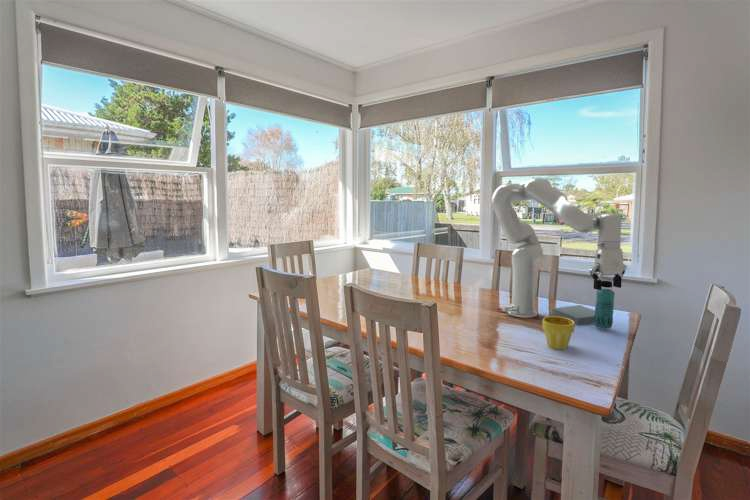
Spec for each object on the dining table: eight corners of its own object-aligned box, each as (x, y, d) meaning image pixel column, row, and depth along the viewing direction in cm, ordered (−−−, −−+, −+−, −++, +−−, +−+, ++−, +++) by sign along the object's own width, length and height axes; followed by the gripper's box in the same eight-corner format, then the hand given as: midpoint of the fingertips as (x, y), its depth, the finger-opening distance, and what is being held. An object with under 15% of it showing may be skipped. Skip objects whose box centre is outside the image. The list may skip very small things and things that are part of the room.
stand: (577, 325, 166) (577, 318, 165) (552, 314, 180) (552, 308, 179) (606, 321, 170) (606, 314, 169) (579, 311, 184) (579, 305, 184)
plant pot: (560, 354, 137) (561, 327, 136) (535, 344, 147) (536, 318, 145) (579, 348, 142) (581, 322, 141) (554, 339, 151) (555, 314, 150)
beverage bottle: (590, 327, 163) (593, 279, 160) (605, 326, 164) (608, 279, 160) (600, 333, 157) (603, 283, 154) (616, 332, 157) (619, 282, 154)
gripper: (599, 247, 149) (597, 292, 151) (635, 244, 154) (632, 288, 156) (583, 245, 156) (582, 288, 158) (618, 242, 161) (616, 284, 163)
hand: (607, 288), depth 157 cm, fingers open, 9 cm apart
